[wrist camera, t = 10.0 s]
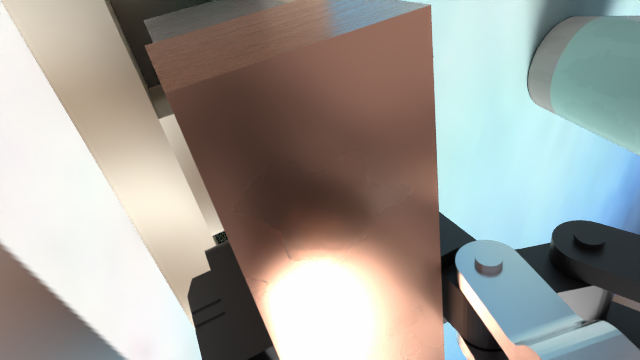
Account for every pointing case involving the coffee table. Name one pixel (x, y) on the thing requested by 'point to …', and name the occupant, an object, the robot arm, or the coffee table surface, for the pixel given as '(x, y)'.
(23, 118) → the coffee table surface
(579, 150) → the coffee table surface
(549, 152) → the coffee table surface
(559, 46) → the coffee cup
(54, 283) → the coffee table surface
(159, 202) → the rail
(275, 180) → the pinkish brown rectangular block
